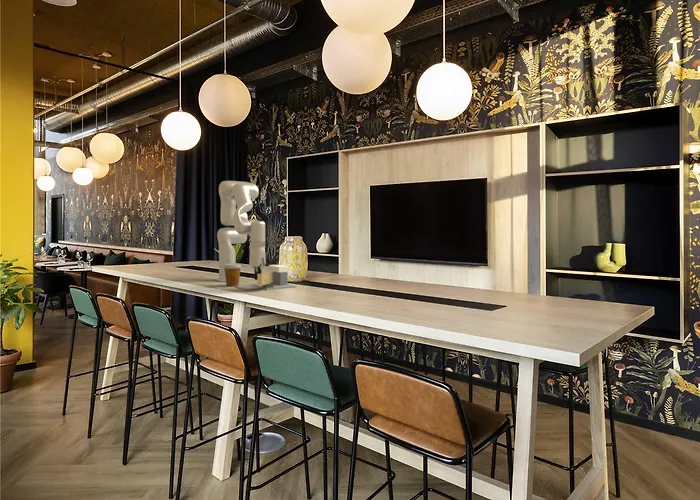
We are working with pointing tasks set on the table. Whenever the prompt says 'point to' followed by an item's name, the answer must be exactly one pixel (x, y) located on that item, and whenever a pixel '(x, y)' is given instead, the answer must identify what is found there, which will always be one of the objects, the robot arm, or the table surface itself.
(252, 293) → the table surface
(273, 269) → the cover
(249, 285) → the mat
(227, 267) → the disposable coffee cup
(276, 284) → the housing
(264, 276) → the tan rectangular wooden board
